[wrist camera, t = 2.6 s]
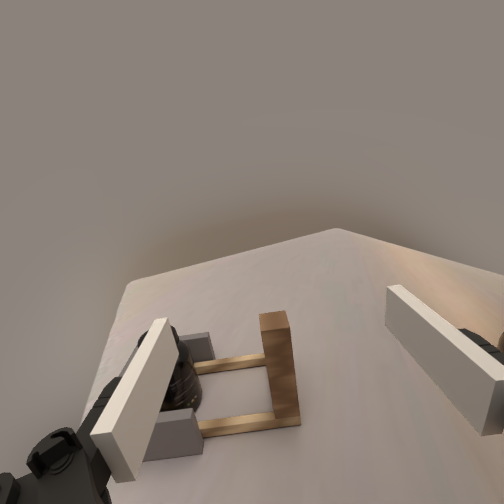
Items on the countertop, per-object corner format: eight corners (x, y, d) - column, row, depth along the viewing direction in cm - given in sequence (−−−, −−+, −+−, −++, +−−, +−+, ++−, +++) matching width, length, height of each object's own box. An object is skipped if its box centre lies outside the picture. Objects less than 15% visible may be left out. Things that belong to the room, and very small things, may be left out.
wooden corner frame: (129, 447, 30) (84, 356, 25) (158, 375, 41) (130, 300, 36) (300, 424, 30) (289, 327, 25) (286, 357, 40) (276, 278, 35)
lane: (105, 466, 29) (85, 432, 27) (149, 369, 42) (138, 341, 40) (202, 453, 29) (190, 418, 27) (215, 360, 42) (208, 332, 40)
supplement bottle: (145, 413, 35) (116, 346, 31) (181, 376, 40) (160, 315, 36) (178, 435, 31) (150, 363, 27) (212, 392, 36) (194, 325, 32)
